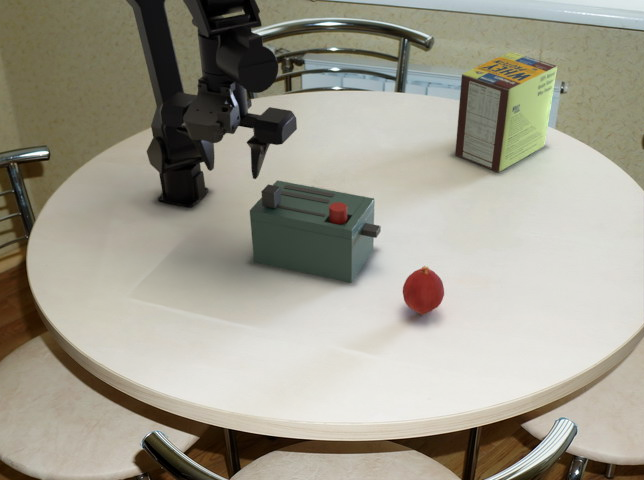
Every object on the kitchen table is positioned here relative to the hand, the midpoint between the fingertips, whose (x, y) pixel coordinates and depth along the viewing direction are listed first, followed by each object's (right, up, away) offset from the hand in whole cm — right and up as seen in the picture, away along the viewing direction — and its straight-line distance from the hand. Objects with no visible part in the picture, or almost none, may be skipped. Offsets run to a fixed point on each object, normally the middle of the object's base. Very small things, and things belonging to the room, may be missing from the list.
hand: (233, 173), depth 125 cm
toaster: (+13, -11, +7) cm, 18 cm away
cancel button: (+15, -7, -1) cm, 17 cm away
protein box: (+45, +13, +36) cm, 59 cm away
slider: (+6, -4, +1) cm, 7 cm away
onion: (+28, -21, -3) cm, 35 cm away
